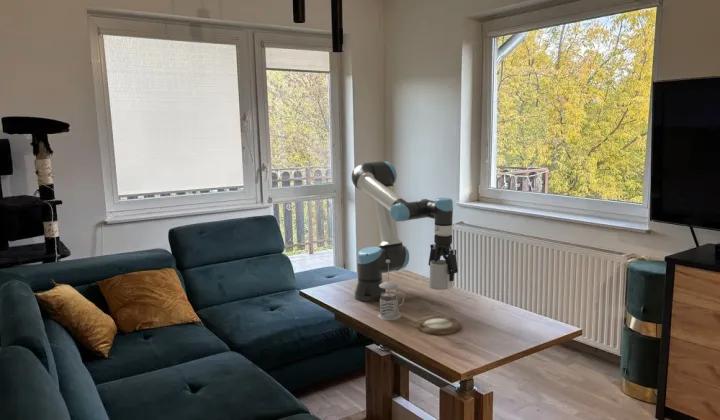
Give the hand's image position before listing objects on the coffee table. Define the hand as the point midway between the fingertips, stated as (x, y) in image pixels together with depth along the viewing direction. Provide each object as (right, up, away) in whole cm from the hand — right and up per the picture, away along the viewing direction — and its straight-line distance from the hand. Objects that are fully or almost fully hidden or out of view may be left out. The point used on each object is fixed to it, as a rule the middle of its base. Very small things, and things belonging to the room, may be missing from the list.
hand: (442, 285), depth 227 cm
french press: (-22, -13, -2) cm, 26 cm away
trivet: (-4, -15, -15) cm, 21 cm away
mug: (0, -1, 0) cm, 1 cm away
